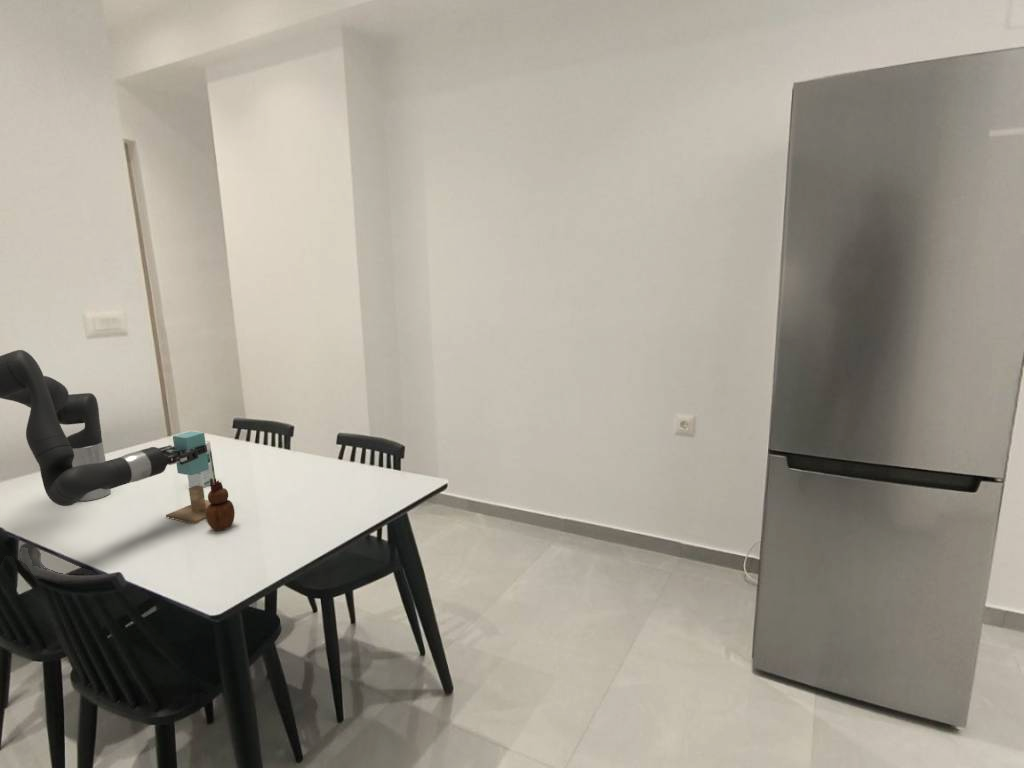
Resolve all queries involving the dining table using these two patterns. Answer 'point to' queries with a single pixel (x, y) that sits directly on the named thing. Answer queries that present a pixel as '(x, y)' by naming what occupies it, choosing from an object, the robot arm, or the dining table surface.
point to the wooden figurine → (219, 507)
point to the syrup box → (204, 472)
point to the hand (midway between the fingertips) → (198, 447)
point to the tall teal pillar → (188, 442)
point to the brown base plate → (193, 507)
